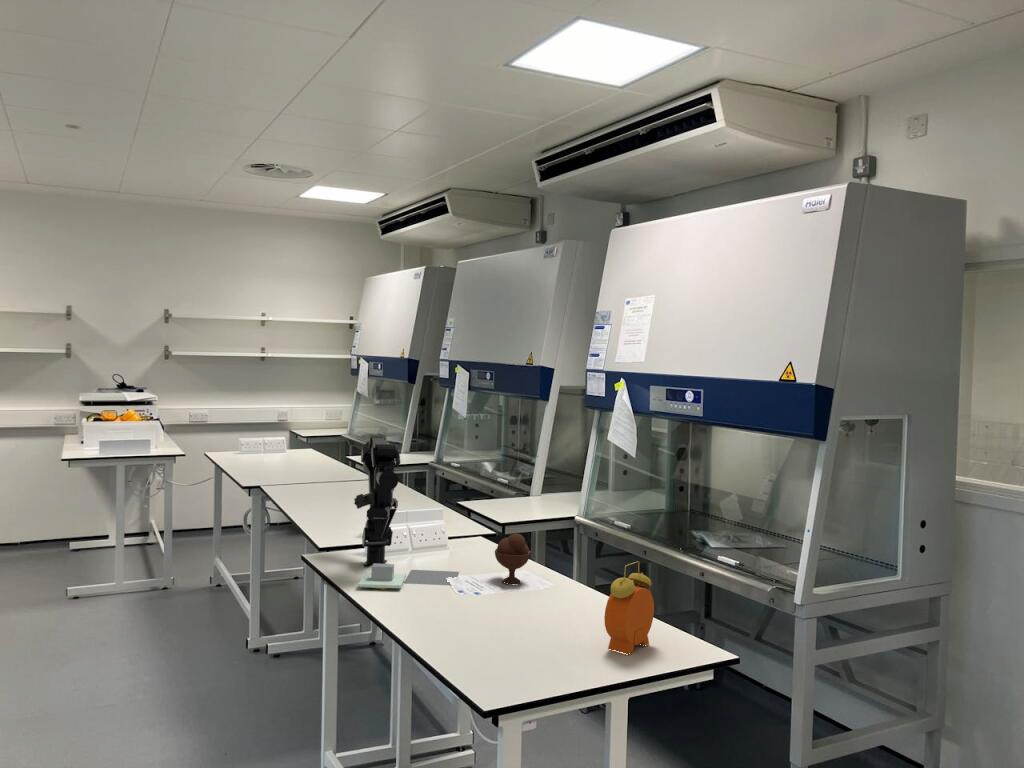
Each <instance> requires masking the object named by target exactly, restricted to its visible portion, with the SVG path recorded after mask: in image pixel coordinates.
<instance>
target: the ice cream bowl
mask: <svg viewBox="0 0 1024 768" xmlns="http://www.w3.org/2000/svg"><path fill="white" fill-rule="evenodd" d="M494 556H495V559H496V561H497V563H499V564H500V565H501V566H502V567H503V568H505V569H507V570H508V576H507V577H506V578H504V579H503V581H502V583H503V582H505V583H508V584H518V585H520V584H521V583H520V582H521V580H520V579H519V578H517V577H516V576H515V574H516V573H515V572H516V570H517V569H521V568H522V567H524V566H525V565H526V564H527V563H528V561H529V559H530V556H531V550H530V549H529V546H528V545H527V544H526V539H525V537H524V536H523V535H522V534H521V533H511V534H510V535H509V536H508V537H505V538H502V539H501V540H500V541H499V542H498V545H497V547H496V549H494ZM508 584H507V585H508Z"/></svg>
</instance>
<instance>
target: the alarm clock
mask: <svg viewBox="0 0 1024 768" xmlns="http://www.w3.org/2000/svg"><path fill="white" fill-rule="evenodd" d="M636 563H638V565H637V566H638V567H637V568H638V569H637V572H632V573H630V575H629V576H628V577H626V571H627V566H630V565H634V564H636ZM623 574H624V575H623V577H619V578H616V579H615V580H614V581H612V583H611V585H610V595H609V596H608V599H607V602H606V606H605V610H604V615H603V616H604V617H603V618H604V627H605V631H606V633H607V635H608V636H609V637H610V639H609V643H608V648H607V650H608V649H611V650H616V651H619V652H623V653H626V654H629V653H631V652H632V653H633V652H634V649H635V646H640V645H639V644H641V645H644V646H645V645H647V644H649V645H650V641H649V636H648V635H649V632H650V630H651V628H652V624H653V621H654V615H655V602H654V598H653V594H652V592H651V591H650V590H649V589H648V588H652V580H651V578H649V577H648V576H647V575H645V574H644V572H640V561H635V562H632V563H629V564H626V565H625V566H624V573H623ZM644 646H643V647H644Z"/></svg>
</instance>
